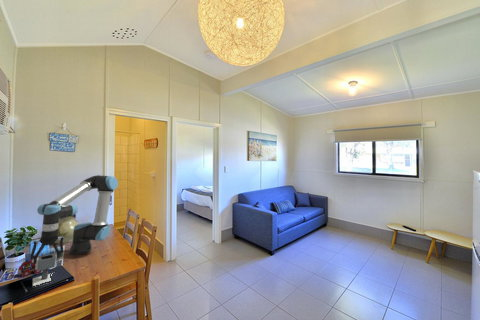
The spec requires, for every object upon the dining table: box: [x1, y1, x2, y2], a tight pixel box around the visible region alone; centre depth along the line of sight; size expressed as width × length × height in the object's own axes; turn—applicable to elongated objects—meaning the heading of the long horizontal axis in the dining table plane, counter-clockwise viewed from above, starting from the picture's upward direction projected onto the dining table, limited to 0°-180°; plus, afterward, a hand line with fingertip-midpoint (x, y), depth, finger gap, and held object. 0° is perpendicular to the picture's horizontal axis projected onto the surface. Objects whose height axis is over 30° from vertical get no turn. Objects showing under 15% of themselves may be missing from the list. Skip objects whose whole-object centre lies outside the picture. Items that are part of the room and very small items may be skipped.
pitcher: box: [55, 213, 80, 245], centre depth 181 cm, size 22×24×25 cm
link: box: [37, 253, 57, 272], centre depth 121 cm, size 8×8×6 cm
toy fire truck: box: [17, 254, 46, 278], centre depth 128 cm, size 7×12×10 cm, turn 138°
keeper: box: [32, 268, 54, 287], centre depth 121 cm, size 10×10×10 cm
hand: (45, 266), depth 121 cm, fingers closed on link, 7 cm apart
